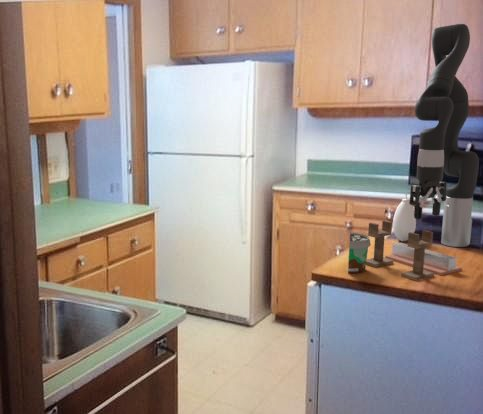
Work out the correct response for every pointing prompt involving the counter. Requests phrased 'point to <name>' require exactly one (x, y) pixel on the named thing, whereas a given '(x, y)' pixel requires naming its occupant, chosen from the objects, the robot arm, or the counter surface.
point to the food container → (358, 253)
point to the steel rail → (426, 257)
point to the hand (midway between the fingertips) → (426, 217)
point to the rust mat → (425, 267)
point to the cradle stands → (412, 242)
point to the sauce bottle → (404, 220)
